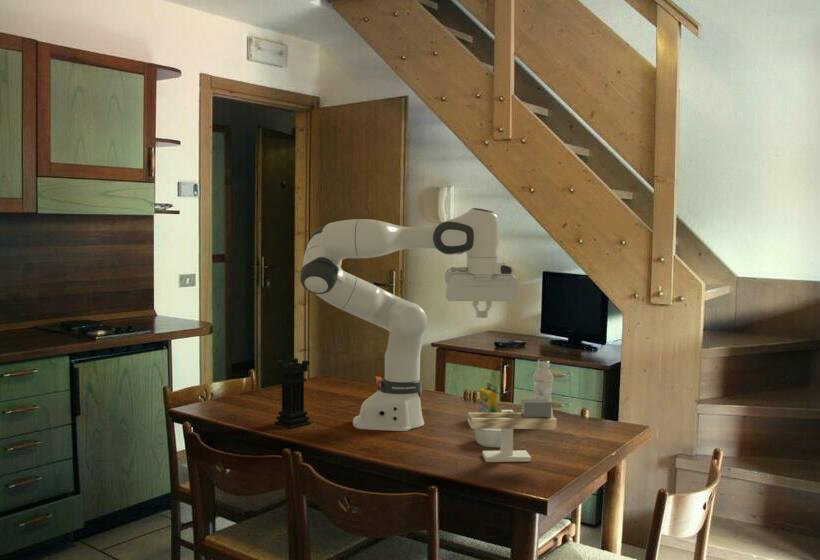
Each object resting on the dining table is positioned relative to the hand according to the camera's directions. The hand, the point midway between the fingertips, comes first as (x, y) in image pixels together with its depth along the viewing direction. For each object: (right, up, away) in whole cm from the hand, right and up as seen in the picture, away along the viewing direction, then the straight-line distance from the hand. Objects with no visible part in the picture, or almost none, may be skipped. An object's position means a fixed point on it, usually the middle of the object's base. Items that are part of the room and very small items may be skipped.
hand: (481, 317), depth 207 cm
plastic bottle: (+22, -35, +32) cm, 53 cm away
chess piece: (-56, -35, +27) cm, 71 cm away
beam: (+7, -28, -11) cm, 30 cm away
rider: (+13, -26, -11) cm, 31 cm away
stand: (+6, -38, -5) cm, 38 cm away
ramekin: (+4, -37, +9) cm, 38 cm away
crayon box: (+5, -35, +34) cm, 49 cm away
